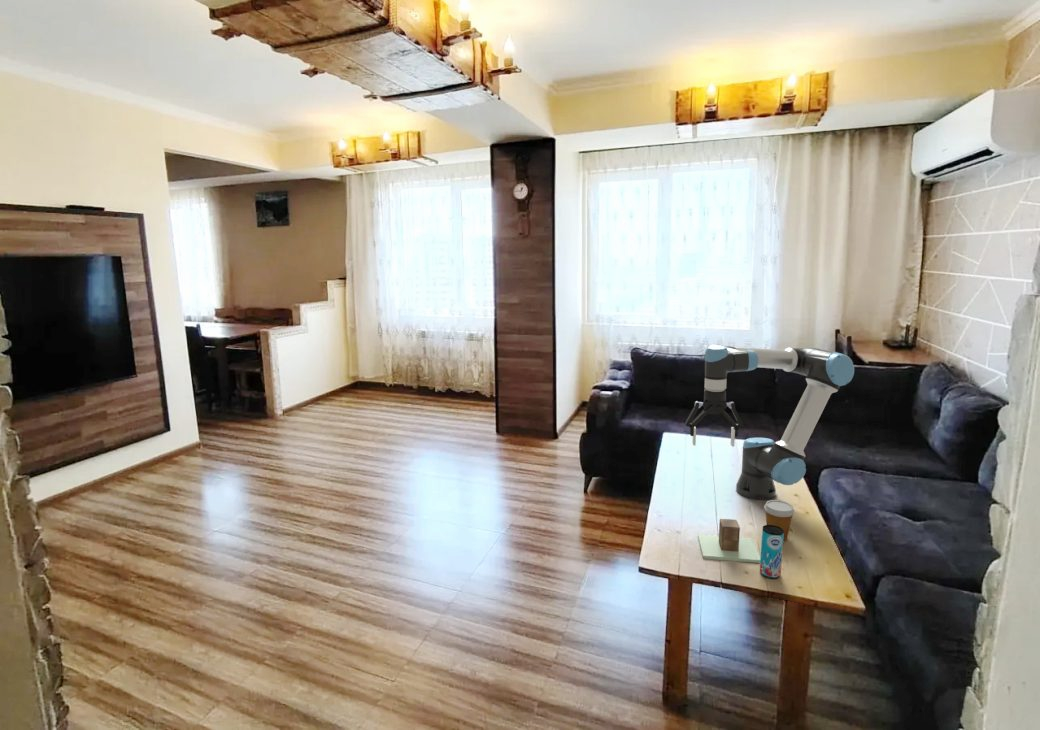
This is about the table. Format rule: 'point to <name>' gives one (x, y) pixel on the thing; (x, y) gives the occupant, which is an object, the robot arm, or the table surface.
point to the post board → (714, 551)
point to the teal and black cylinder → (771, 551)
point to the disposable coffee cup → (779, 515)
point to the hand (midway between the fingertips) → (713, 444)
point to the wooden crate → (729, 535)
